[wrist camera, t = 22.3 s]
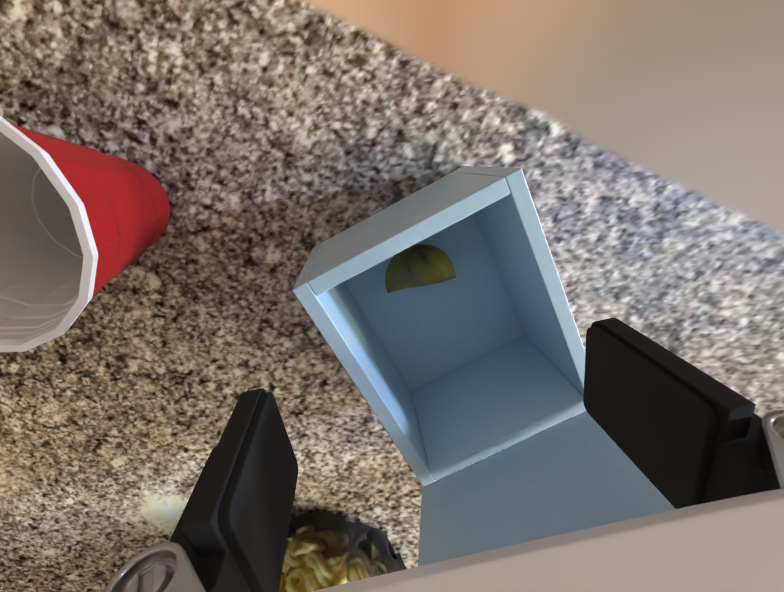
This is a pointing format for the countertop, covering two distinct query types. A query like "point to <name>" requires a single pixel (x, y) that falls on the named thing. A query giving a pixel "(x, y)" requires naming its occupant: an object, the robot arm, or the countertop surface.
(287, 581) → the ramen
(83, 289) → the plastic cup
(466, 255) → the open box
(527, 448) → the box lid
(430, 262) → the lime
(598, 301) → the countertop surface
